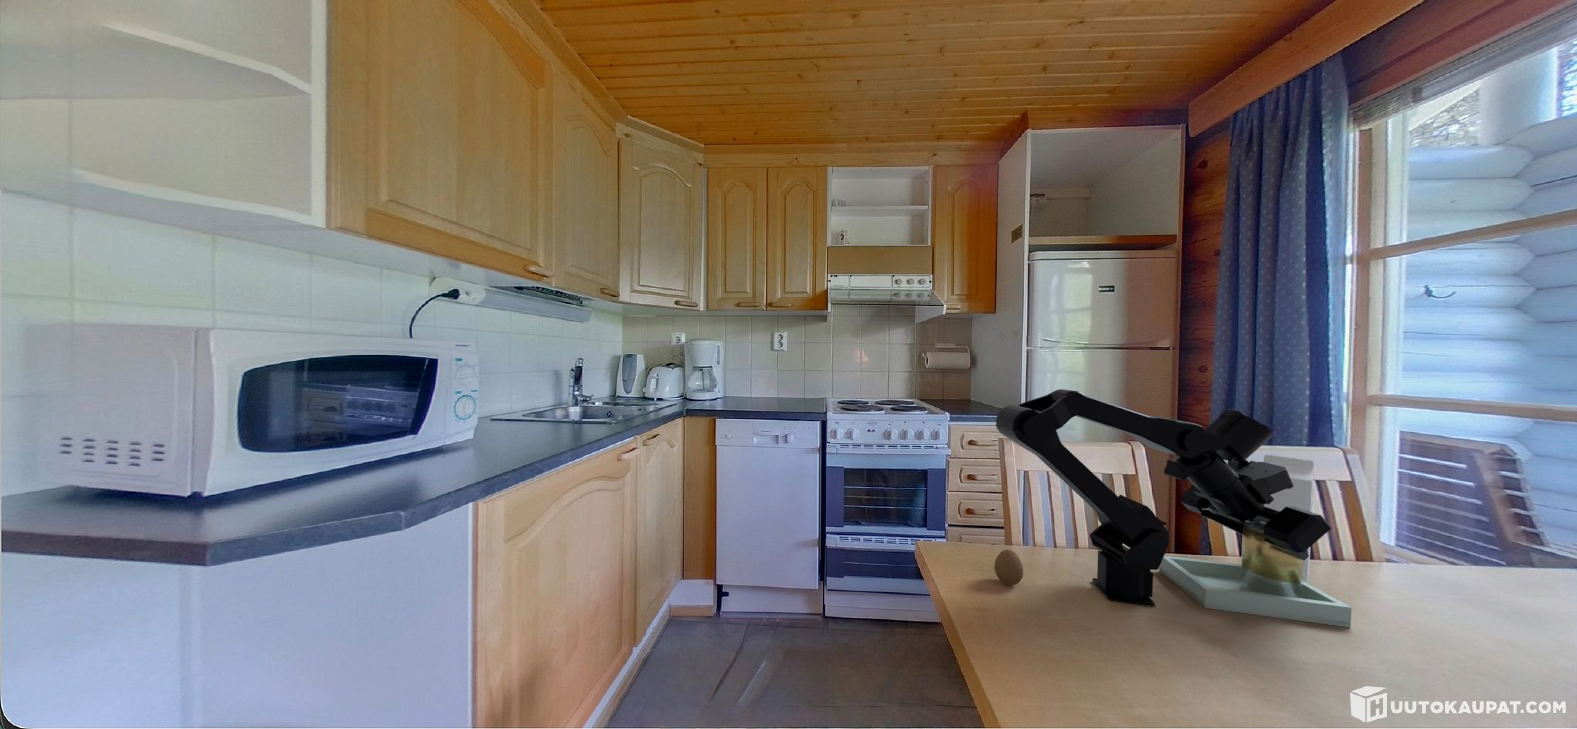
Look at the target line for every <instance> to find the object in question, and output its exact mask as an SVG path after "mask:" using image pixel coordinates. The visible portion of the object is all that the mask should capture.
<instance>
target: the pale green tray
mask: <svg viewBox="0 0 1577 729" xmlns="http://www.w3.org/2000/svg"><path fill="white" fill-rule="evenodd" d="M1159 572H1160V573H1161V574H1163V575H1164V576H1165V577H1166V578H1168V579H1169V580H1170V581H1171V582H1172V583H1174V585H1176V586H1177V587H1178V588H1180V589H1181V590H1183V591H1184V592H1185V593H1186V594H1187V595H1189V596H1190V597H1191V598H1193V599H1194V600H1195V601H1196V602H1197V603H1198V604H1200V605H1201V606H1202V607H1203V608H1204V609H1212V610H1218V611H1227V612H1234V613H1242V614H1249V615H1255V616H1256V615H1257V616H1262V617H1263V616H1264V617H1271V618H1278V619H1284V620H1285V619H1286V620H1293V621H1301V622H1306V623H1313V624H1323V625H1331V626H1337V627H1345V628H1351V626H1352V607H1351V606H1349V605H1347V604H1345V603H1344V602H1341V601H1340V600H1338V599H1336V598H1335V597H1333V596H1331V595H1329V594H1327V593H1325V592H1324V591H1322V590H1320V589H1318V588H1316V587H1315V586H1313V585H1311V584H1309V583H1305V582H1304V581H1302V586H1301V597H1300V598H1293V597H1285V596H1277V595H1271V594H1268V593H1265V592H1262V591H1259V590H1256V589H1254V588H1252V587H1250V586H1248V585H1246V584H1245V583H1243V582H1242V581H1241V563H1234V562H1233V563H1231V562H1223V561H1214V560H1206V559H1205V560H1204V559H1199V558H1197V559H1196V558H1189V557H1187V558H1186V557H1181V556H1180V557H1179V556H1173V555H1172V556H1170V555H1169V556H1168V555H1164V557H1163V559H1162V562H1161V564H1160V566H1159Z"/></svg>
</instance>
